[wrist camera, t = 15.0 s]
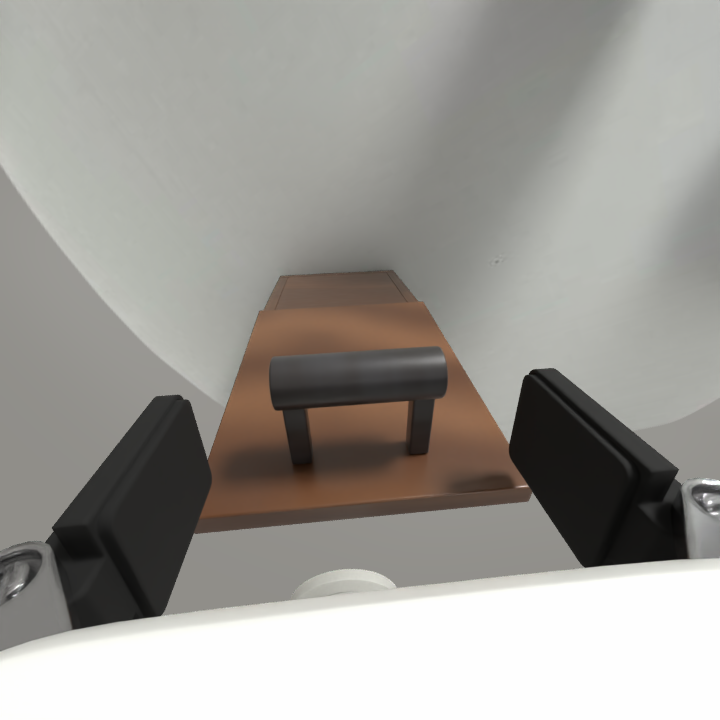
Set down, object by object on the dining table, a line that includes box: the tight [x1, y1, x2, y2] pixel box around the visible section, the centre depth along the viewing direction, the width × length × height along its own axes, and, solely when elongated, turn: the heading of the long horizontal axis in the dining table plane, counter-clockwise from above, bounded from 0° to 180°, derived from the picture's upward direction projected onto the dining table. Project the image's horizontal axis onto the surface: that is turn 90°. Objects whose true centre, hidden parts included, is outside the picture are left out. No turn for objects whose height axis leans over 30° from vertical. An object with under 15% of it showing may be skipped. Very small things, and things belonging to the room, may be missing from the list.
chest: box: [263, 270, 418, 311], centre depth 31 cm, size 14×11×11 cm
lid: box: [194, 302, 532, 534], centre depth 16 cm, size 14×11×5 cm
